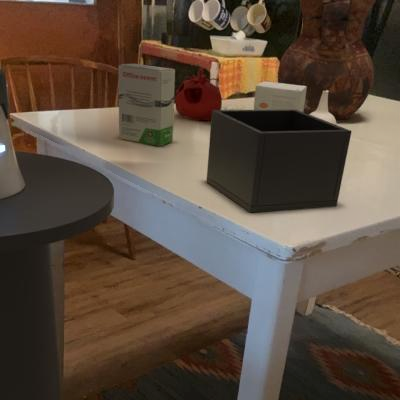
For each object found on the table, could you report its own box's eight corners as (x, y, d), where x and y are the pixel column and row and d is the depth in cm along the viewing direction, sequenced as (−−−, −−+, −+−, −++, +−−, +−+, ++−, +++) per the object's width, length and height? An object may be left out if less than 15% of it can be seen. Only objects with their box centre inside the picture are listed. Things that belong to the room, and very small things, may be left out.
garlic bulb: (332, 131, 125) (339, 89, 121) (336, 137, 120) (344, 94, 116) (301, 128, 125) (308, 86, 121) (304, 135, 120) (311, 91, 116)
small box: (298, 149, 109) (308, 85, 104) (292, 156, 105) (302, 90, 99) (255, 143, 111) (262, 80, 105) (248, 149, 107) (255, 84, 101)
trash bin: (250, 212, 78) (259, 133, 73) (206, 181, 88) (211, 110, 83) (336, 205, 83) (351, 130, 78) (285, 177, 93) (296, 109, 88)
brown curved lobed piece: (259, 103, 146) (273, -19, 133) (335, 105, 152) (357, -12, 139) (298, 124, 129) (319, -15, 115) (383, 125, 135) (413, -7, 121)
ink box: (174, 142, 107) (177, 67, 101) (159, 147, 103) (162, 70, 97) (132, 133, 110) (133, 61, 104) (117, 138, 106) (117, 63, 100)
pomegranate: (203, 111, 133) (206, 64, 128) (230, 121, 126) (234, 72, 121) (164, 113, 128) (166, 64, 123) (190, 123, 121) (193, 72, 116)
